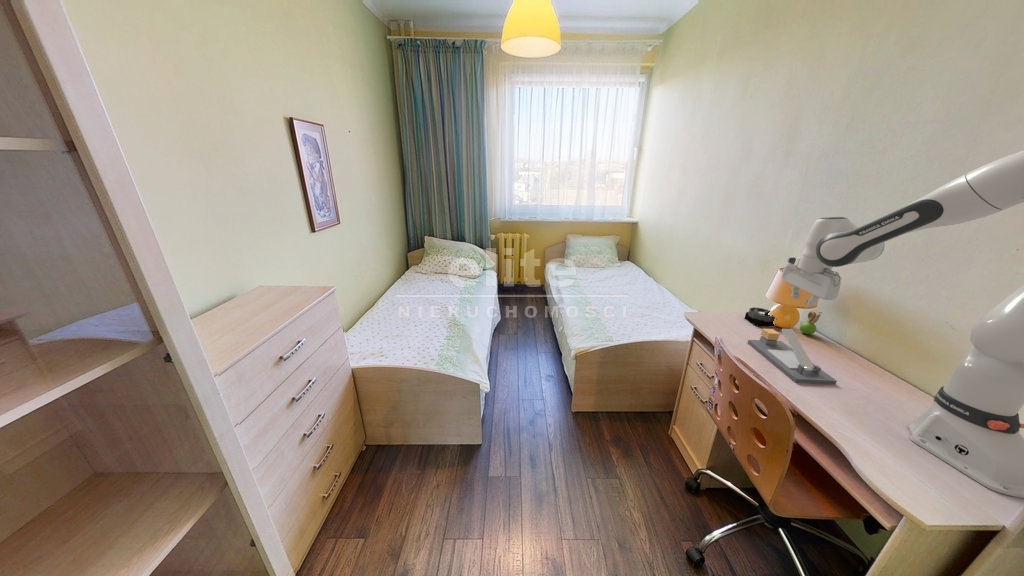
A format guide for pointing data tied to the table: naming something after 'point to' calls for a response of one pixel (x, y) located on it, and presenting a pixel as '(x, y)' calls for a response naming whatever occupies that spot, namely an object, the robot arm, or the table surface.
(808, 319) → the snail figurine
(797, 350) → the grey metal bar
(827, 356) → the table surface
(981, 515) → the table surface
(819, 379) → the socket frame
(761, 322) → the cpu cooler
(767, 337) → the tan small block
